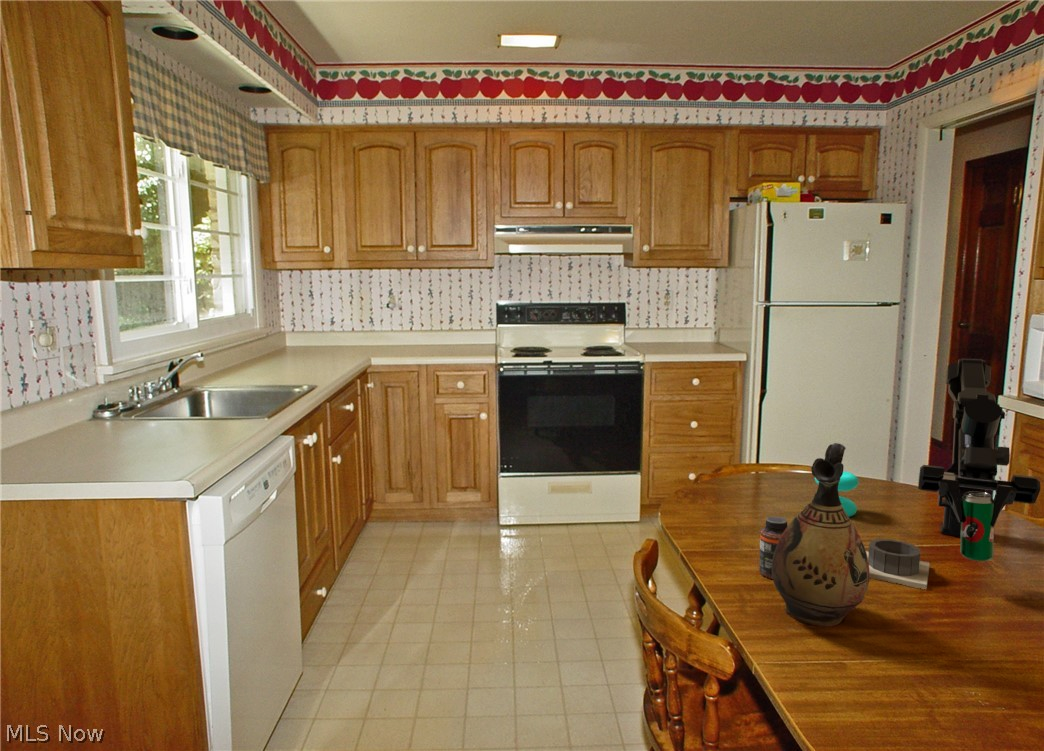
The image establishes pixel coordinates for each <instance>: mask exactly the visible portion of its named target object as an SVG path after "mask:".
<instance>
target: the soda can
mask: <svg viewBox="0 0 1044 751" xmlns="http://www.w3.org/2000/svg"><path fill="white" fill-rule="evenodd" d="M961 506H962V523H961V537H960V546H959V547H960V549H959V550H960V551H959V552H960V554H961V555H962V556H963V557H964V558H966V559H968V560H970V561H977V562H987V561H988V562H989V561H990V560H991V559H993V557H994V536H995V534H994V533H995V527H994V528H993V527H992V521H993V517H994V507H995V502H994V498H993V495H992V494H991V493H985V492H978V491H968V492H965V493H964V496H963V497H962V498H961Z"/></svg>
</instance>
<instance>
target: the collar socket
mask: <svg viewBox="0 0 1044 751" xmlns="http://www.w3.org/2000/svg"><path fill="white" fill-rule="evenodd" d="M866 553H867V558H868V561H869V574H870V579H872V578H873V579H874V580H877V581H881V580H882V582H886V581H888V582H887V583H891V582H892V583H891V584H896V583H898V584H897V585H900V584H902V585H901V586H905V585H906V587H910V588H916V589H920V588H921V590H924V589H925V590H924V591H926V590H927V589H928V580H929V572H930V562H929V561H923V560H921V549H920V548H918V547H917V546H916V545H913V544H911V543H909V542H906V541H902V540H897V539H890V538H877V539H876V538H875V539H873V540H870V541H869V545H868V550H866Z"/></svg>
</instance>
